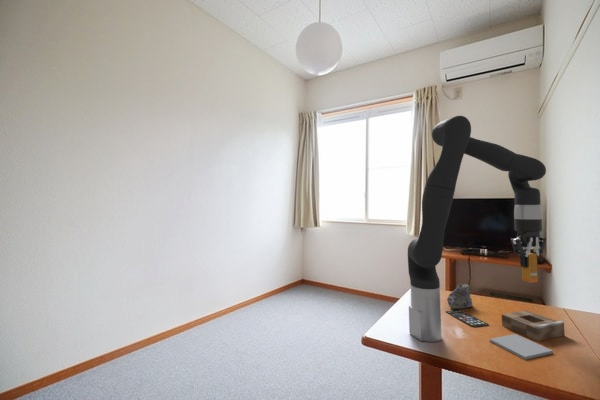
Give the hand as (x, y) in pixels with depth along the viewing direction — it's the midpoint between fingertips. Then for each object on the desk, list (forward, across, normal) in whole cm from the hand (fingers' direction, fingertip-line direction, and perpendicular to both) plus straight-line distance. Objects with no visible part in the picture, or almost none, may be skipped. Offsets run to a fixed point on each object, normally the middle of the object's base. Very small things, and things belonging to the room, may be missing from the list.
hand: (529, 266), depth 97 cm
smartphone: (+23, -13, +15) cm, 30 cm away
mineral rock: (+23, -6, +26) cm, 35 cm away
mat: (+22, -15, -7) cm, 28 cm away
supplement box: (+5, 0, 0) cm, 5 cm away
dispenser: (+22, 0, 0) cm, 22 cm away
